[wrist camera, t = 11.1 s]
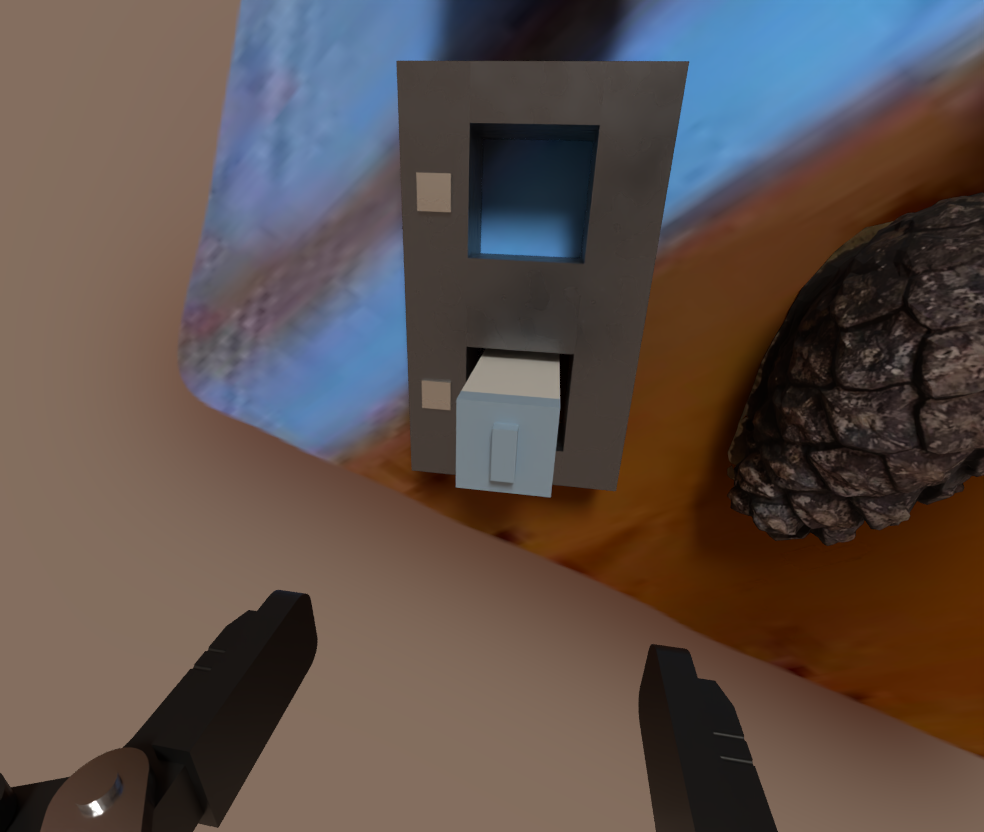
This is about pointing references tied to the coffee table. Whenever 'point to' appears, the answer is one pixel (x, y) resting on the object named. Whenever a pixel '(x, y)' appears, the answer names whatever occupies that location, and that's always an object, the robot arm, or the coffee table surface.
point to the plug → (509, 423)
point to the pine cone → (871, 383)
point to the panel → (532, 279)
